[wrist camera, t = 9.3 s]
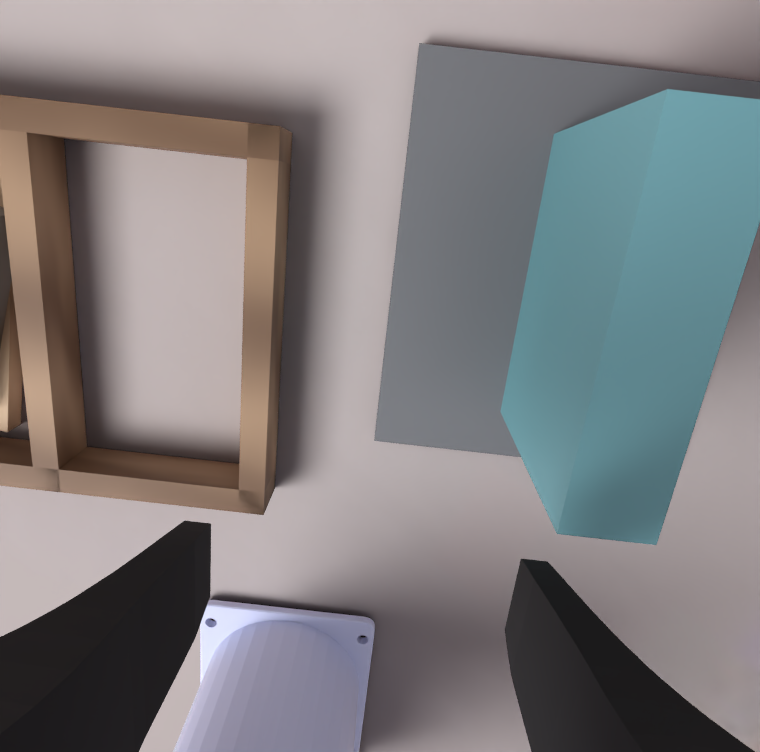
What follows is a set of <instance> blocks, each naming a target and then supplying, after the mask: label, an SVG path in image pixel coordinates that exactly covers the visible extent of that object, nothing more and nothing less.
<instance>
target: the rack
mask: <svg viewBox="0 0 760 752" xmlns="http://www.w3.org/2000/svg"><path fill="white" fill-rule="evenodd" d="M64 139H72V140H81V141H90V142H99V143H107V144H116V145H125V146H134V147H143V148H152V149H161V150H170V151H179V152H187V153H196V154H205V155H214V156H223V157H232V158H241V159H247V184H246V223H245V262H244V302H243V341H242V380H241V420H240V459H239V464H237V463H228V462H219V461H210V460H201V459H192V458H183V457H174V456H165V455H156V454H147V453H138V452H129V451H121V450H112V449H103V448H94V447H87V440H86V427H85V413H84V400H83V387H82V374H81V360H80V347H79V334H78V320H77V307H76V294H75V280H74V267H73V254H72V241H71V227H70V214H69V201H68V187H67V174H66V161H65V147H64ZM291 150H292V133H291V132H289V131H288V130H286V129H284V128H282V127H281V126H274V125H265V124H256V123H247V122H239V121H230V120H221V119H212V118H203V117H194V116H185V115H176V114H168V113H159V112H150V111H141V110H132V109H123V108H114V107H105V106H97V105H88V104H79V103H70V102H61V101H52V100H43V99H34V98H26V97H17V96H8V95H0V179H1V188H2V197H3V206H4V214H5V223H6V232H7V241H8V250H9V259H10V268H11V277H12V286H13V295H14V303H15V312H16V321H17V330H18V339H19V348H20V357H21V366H22V375H23V384H24V392H25V401H26V410H27V419H28V428H29V437H30V440H22V439H13V438H4V437H0V485H1V486H10V487H19V488H27V489H36V490H45V491H54V492H63V493H72V494H81V495H90V496H99V497H108V498H117V499H126V500H135V501H144V502H153V503H162V504H170V505H179V506H188V507H197V508H206V509H215V510H224V511H233V512H242V513H251V514H260V515H264V512H265V510H266V508H267V505H268V503H269V501H270V498H271V496H272V494H273V491H274V489H275V472H276V452H277V432H278V412H279V391H280V371H281V351H282V331H283V311H284V291H285V271H286V251H287V231H288V211H289V191H290V171H291Z"/></svg>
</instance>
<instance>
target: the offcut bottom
mask: <svg viewBox="0 0 760 752" xmlns="http://www.w3.org/2000/svg"><path fill="white" fill-rule="evenodd" d="M0 206H1V207H4V206H3V197H2V188H1V179H0ZM22 376H23V375H22V366H21V357H20V348H19V339H18V330H17V321H16V312H15V303H14V295H13V286H12V281H11V285H10V291H9V297H8V304H7V310H6V316H5V323H4V329H3V335H2V341H1V348H0V431H4V432H9V431H10V430H12V429H14V428H15V427H17V426H19V425H20V424H21V408H22Z"/></svg>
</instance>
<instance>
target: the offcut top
mask: <svg viewBox="0 0 760 752" xmlns="http://www.w3.org/2000/svg"><path fill="white" fill-rule="evenodd" d="M11 281H12V277H11V268H10V259H9V250H8V241H7V232H6V223H5V214H4V207H1V206H0V348H1V341H2V335H3V329H4V323H5V316H6V310H7V304H8V297H9V291H10V285H11Z"/></svg>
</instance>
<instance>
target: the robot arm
mask: <svg viewBox="0 0 760 752" xmlns="http://www.w3.org/2000/svg"><path fill="white" fill-rule="evenodd" d="M210 563H211V524H209V523H200V522H191V521H184V522H182V523H181V524H179V525H178V526H177V527H175V528H174V529H173V530H171V531H170V532H168V533H167V534H166V535H164V536H163V537H162V538H160V539H159V540H158V541H156V542H155V543H154V544H152V545H151V546H149V547H148V548H147V549H145V550H144V551H143V552H141V553H140V554H139V555H137V556H136V557H134V558H133V559H132V560H130V561H129V562H127V563H126V564H124V565H123V566H122V567H120V568H119V569H117V570H116V571H115V572H113V573H111V574H110V575H108V576H107V577H105V578H104V579H102V580H101V581H99V582H98V583H96V584H94V585H93V586H91V587H90V588H88V589H87V590H85V591H84V592H82V593H81V594H79V595H77V596H76V597H74V598H73V599H71V600H69V601H68V602H66V603H64V604H62V605H61V606H59V607H57V608H56V609H54V610H52V611H50V612H48V613H47V614H45V615H43V616H41V617H39V618H37V619H35V620H34V621H32V622H30V623H28V624H26V625H24V626H22V627H20V628H18V629H16V630H14V631H12V632H10V633H8V634H6V635H4V636H1V637H0V752H139V750H140V748H141V745H142V743H143V741H144V739H145V737H146V735H147V733H148V731H149V729H150V727H151V725H152V723H153V721H154V719H155V717H156V715H157V713H158V711H159V709H160V707H161V705H162V703H163V701H164V699H165V697H166V695H167V693H168V691H169V689H170V687H171V685H172V683H173V681H174V679H175V677H176V675H177V673H178V671H179V669H180V667H181V665H182V663H183V661H184V659H185V657H186V655H187V653H188V651H189V649H190V647H191V645H192V643H193V641H194V639H195V637H196V634H197V632H198V629H199V626H200V687H199V689H198V692H197V694H196V697H195V699H194V702H193V704H192V707H191V709H190V712H189V714H188V716H187V719H186V721H185V724H184V726H183V729H182V731H181V734H180V736H179V739H178V741H177V744H176V746H175V748H174V751H173V752H359V748H360V741H361V733H362V725H363V718H364V710H365V702H366V695H367V687H368V679H369V671H370V664H371V656H372V648H373V641H374V633H375V623H374V622H373V620H372V619H370V618H368V617H363V616H354V615H345V614H336V613H327V612H318V611H309V610H300V609H291V608H282V607H273V606H265V605H256V604H247V603H238V602H229V601H220V600H209V598H210ZM209 618H212V619H214V620H215V621H212V620H210V619H209ZM505 634H506V642H507V649H508V657H509V663H510V670H511V675H512V679H513V683H514V687H515V691H516V695H517V699H518V703H519V706H520V710H521V714H522V718H523V721H524V725H525V729H526V733H527V736H528V740H529V744H530V747H531V751H532V752H755V751H753V750H752V749H750V748H749V747H747V746H746V745H745V744H743V743H742V742H740V741H739V740H738V739H736V738H735V737H734V736H732V735H731V734H730V733H728V732H727V731H726V730H724V729H723V728H722V727H720V726H719V725H718V724H716V723H715V722H713V721H712V720H711V719H709V718H708V717H707V716H706V715H704V714H703V713H702V712H700V711H699V710H698V709H697V708H695V707H694V706H693V705H692V704H690V703H689V702H688V701H687V700H686V699H684V698H683V697H682V696H681V695H680V694H678V693H677V692H676V691H675V690H674V689H673V688H671V687H670V686H669V685H668V684H667V683H665V682H664V681H663V680H662V679H661V678H660V677H658V676H657V675H656V674H655V673H654V672H653V671H652V670H651V669H650V668H648V667H647V666H646V665H645V664H644V663H643V662H642V661H641V660H640V659H639V658H638V657H637V656H636V655H635V654H634V653H633V652H632V651H631V650H630V649H629V648H628V647H627V646H625V645H624V644H623V643H622V642H621V641H620V640H619V639H618V638H617V637H616V636H615V635H614V633H613V632H612V631H611V630H610V629H609V628H608V627H607V626H606V625H605V624H604V623H603V622H602V621H601V620H600V619H599V618H598V617H597V616H596V615H595V614H594V612H593V611H592V610H591V609H590V608H589V607H588V606H587V605H586V604H585V603H584V602H583V600H582V599H581V598H580V597H579V596H578V595H577V594H576V593H575V592H574V590H573V589H572V588H571V587H570V586H569V585H568V584H567V583H566V581H565V580H564V579H563V578H562V577H561V576H560V575H559V574H558V573H557V571H556V570H555V569H554V568H553V567H552V566H551V565H550V564H549V563H548V562H546V561H537V560H528V559H521V561H520V566H519V570H518V574H517V579H516V583H515V587H514V592H513V596H512V601H511V605H510V609H509V614H508V618H507V622H506V627H505ZM360 635H364V636H366V637H364V638H362V637H360Z"/></svg>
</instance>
